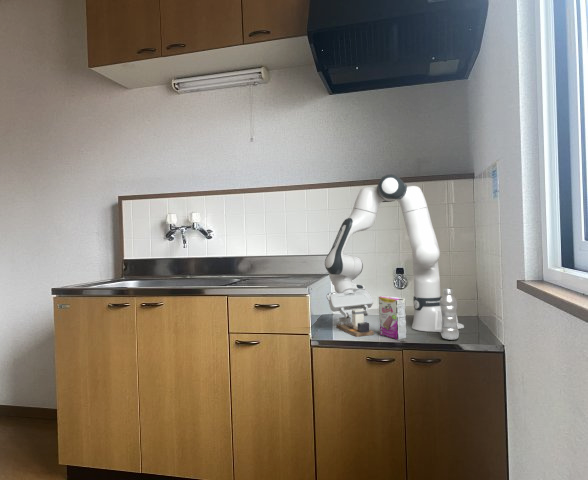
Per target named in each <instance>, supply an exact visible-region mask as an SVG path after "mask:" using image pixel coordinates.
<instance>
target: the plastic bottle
mask: <svg viewBox="0 0 588 480" xmlns="http://www.w3.org/2000/svg"><path fill="white" fill-rule="evenodd" d="M442 294H443V295H442V296H441V297H442V298H441V299H440V308H441V314H442V327H441V332H440V336H441V338H442V339H444V340H449V341H454V340H457V339H458V338H459V335H460V332H459V329H458V328H457V320H456V315H457V309H458V301H457V298H456V297H455V296H454V288H452V287H451V288H450V287H448V288H445V287H444V288H443V289H442Z"/></svg>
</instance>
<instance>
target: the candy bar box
mask: <svg viewBox="0 0 588 480" xmlns="http://www.w3.org/2000/svg"><path fill="white" fill-rule="evenodd" d="M378 311H379V312H378V314H379V315H378V316H379V317H378V318H379V319H378V320H379V335H380V336H383V337H387V338H390V339H394V340H397V341H401V340H405V339H407V338H408V337H407V316H406V315H407V313H406V312H407V311H406V298H403V297H397V296H392V295H382V296H378Z"/></svg>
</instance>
